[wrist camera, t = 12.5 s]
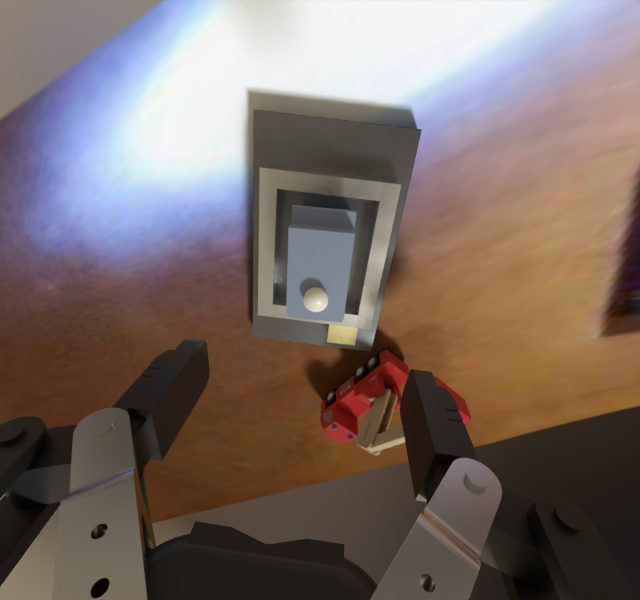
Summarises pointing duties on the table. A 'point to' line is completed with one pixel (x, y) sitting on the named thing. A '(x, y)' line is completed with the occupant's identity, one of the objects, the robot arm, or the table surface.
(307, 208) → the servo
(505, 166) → the table surface
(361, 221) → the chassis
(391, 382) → the toy fire truck
